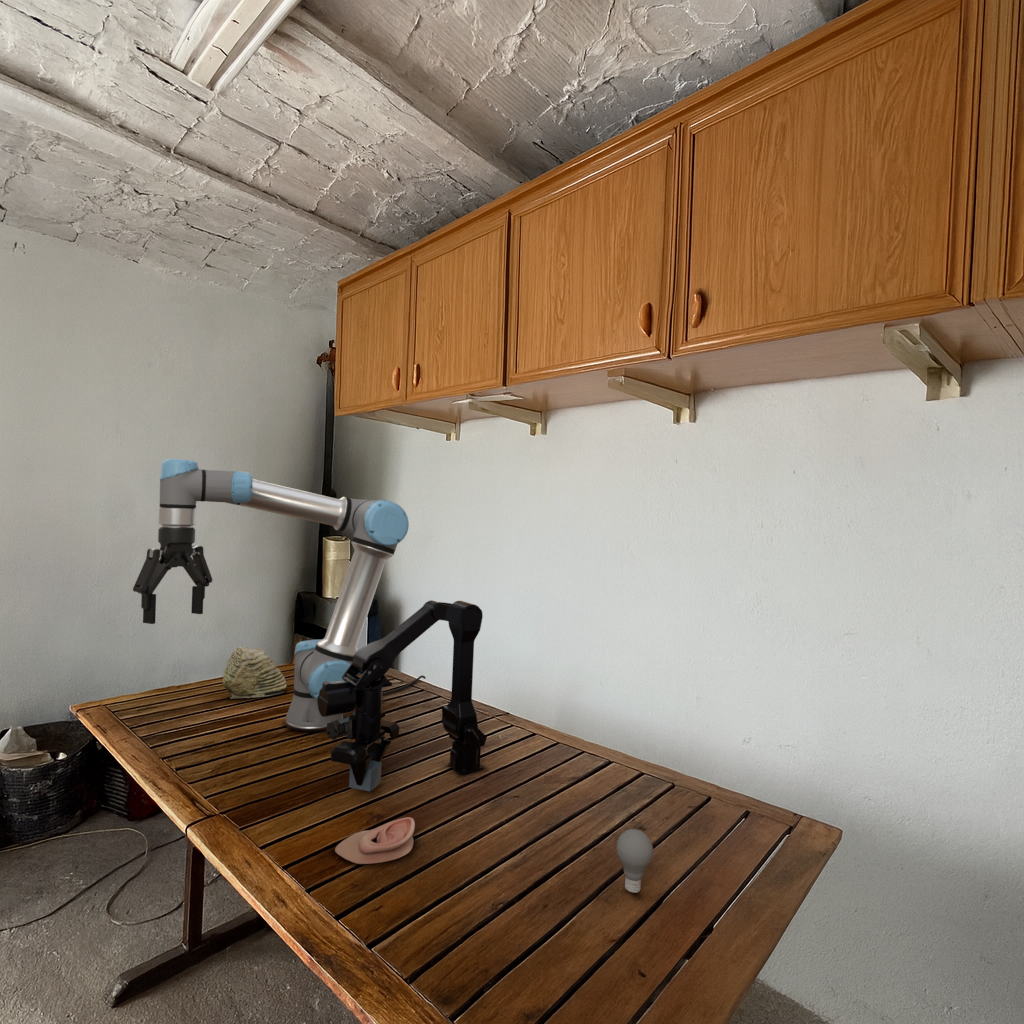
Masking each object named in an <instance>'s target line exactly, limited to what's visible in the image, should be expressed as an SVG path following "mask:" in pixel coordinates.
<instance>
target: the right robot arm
mask: <svg viewBox="0 0 1024 1024" xmlns="http://www.w3.org/2000/svg"><path fill="white" fill-rule="evenodd" d="M483 617H484V615H483V610H482V609H481V607H480V606H479V605H477V604H474V603H470V602H467V601H464V600H456V601H454V602H452V603H451V602H450V603H449V602H444V601H436V600H432V599H430V600H428V601H426V602H424V604H423V605H422V606H421V607H420V608H419V609H418V610H417V611H415V612H414V613H413V614H412V615H411V616H409V617H408V618H407V619H405V620H404V621H403V622H402V623H401V624H399V625H398V626H397V627H395V628H394V629H393V630H392V631H391V632H389V633H388V634H387V635H386V636H384V637H382V638H380V639H378V640H375V641H371V642H370V643H367V644H366V645H364V646H363V647H361V648H359V649H358V651H357V652H356V653H355V654H354V656H353V662H352V663H351V665H350V666H349V668H348V669H347V670H346V672H345V673H344V675H343V676H342V679H343V680H342V681H335V682H329V681H328V682H323V683H322V688H321V689H320V691H319V696H318V697H317V703H318V709H319V712H320V715H321V716H322V717H325V716H331V715H337V714H342V713H343V714H348V713H350V712H351V713H350V714H349V715H348V717H343V719H340V720H335V721H330V722H329V723H327V728H326V730H325V734H326V736H327V737H328V738H329V739H331V740H332V741H334V740H335V741H336V740H337V739H339V738H345V737H346V739H347V740H351V741H352V740H354V741H353V742H350V741H346V740H344V741H342V742H340V743H339V744H337V745H335V746H334V747H333V748H332V749H331V750H330V761H331V762H334V763H341V764H344V765H349V767H350V766H351V768H352V771H353V774H354V777H355V781H356V784H357V785H360V786H361V785H362V784H363V781H364V778H365V775H366V772H367V769H368V766H369V763H370V760H373V761H378V762H382V760H383V758H384V756H385V754H386V753H387V750H388V748H389V747H390V745H391V744H392V740H393V739H396V737H398V736H400V725H399V724H398V723H397V722H396V721H392V720H391V721H390V720H385V719H383V718H385V717H386V711H385V710H383V695H382V693H383V688H388V687H392V686H393V682H391V681H390V680H389V679H388V677H386V675H385V674H387V672H388V671H389V670H390V669H391V668H392V667H393V666H394V664H395V661H396V659H397V657H398V656H399V655H400V654H401V653H402V652H403V651H404V650H406V648H408V646H410V645H411V644H412V643H413V642H415V641H416V640H417V639H418V638H419V637H420V636H422V635H423V634H424V633H425V632H426V631H428V630H429V629H430V628H431V627H433V625H435V624H436V623H437V622H438V621H444V622H448V628H449V631H450V633H451V636H452V639H453V646H452V647H453V650H452V671H451V672H452V673H451V675H452V676H451V693H450V694H451V698H450V700H449V702H448V704H447V705H443V706H442V707H441V720H440V723H441V724H442V727H443V730H444V731H445V732H447V733H448V738H449V739H451V740H453V741H452V742H451V749H450V751H449V752H450V753H449V762H448V763H447V766H448V767H449V768H451V769H452V770H453V771H455V772H456V773H458V774H459V775H461V776H463V775H466V774H471V773H475V772H478V771H482V770H484V766H483V765H482V764H481V754H482V753H481V751H482V747H485V746H486V742H487V739H488V736H486V735H485V734H484V732H483V731H482V730H481V729H480V728H479V724H478V714H477V711H476V709H475V706H474V703H473V678H474V655H475V654H474V651H475V640H476V639H477V637H478V635H479V633H480V632H481V628H482V622H483ZM356 675H357V676H356ZM358 675H361V676H358ZM352 711H354V712H352ZM385 734H389V738H390V739H392V740H389V739H387V736H385Z"/></svg>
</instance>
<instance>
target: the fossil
mask: <svg viewBox="0 0 1024 1024" xmlns="http://www.w3.org/2000/svg"><path fill="white" fill-rule="evenodd" d="M222 676H223V677H222V685H223V687H224V688H225V690H226V691H228V693H229V698H230V699H250V698H264V697H271V696H275V695H281V694H284V693H285V691H286V689H287V687H288V686H287V680H286V678H285V676H284V674H283V673H282V672H281V669H279V668H278V667H277V665H276V663H275V662H274V660H273V659H272V658H271V657H270V656H269V655H268V654H267V653H266V652H265V650H264V649H263V648H260V647H258V648H251V647H247V646H246V647H245V646H238V647H237V648H236V649H235V650H233V651H232V653H231V656H230V657H229V659H228V660H227V663H226V666H225V668H224V671H223V675H222Z"/></svg>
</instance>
